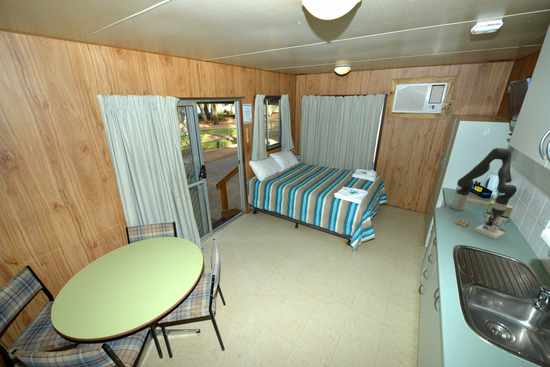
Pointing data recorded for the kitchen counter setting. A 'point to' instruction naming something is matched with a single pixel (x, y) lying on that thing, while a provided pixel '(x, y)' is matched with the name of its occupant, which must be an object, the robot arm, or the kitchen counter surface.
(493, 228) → the ink box
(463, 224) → the pallet
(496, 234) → the dock
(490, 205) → the tea box
